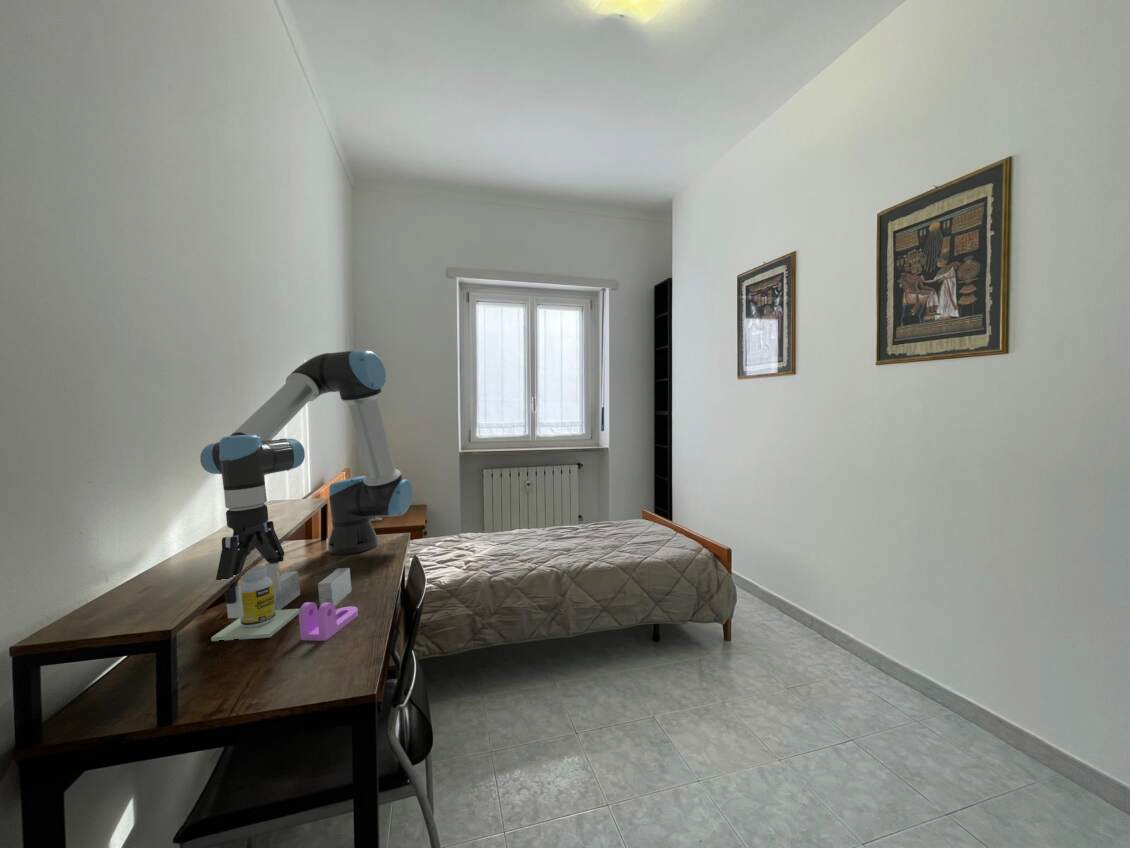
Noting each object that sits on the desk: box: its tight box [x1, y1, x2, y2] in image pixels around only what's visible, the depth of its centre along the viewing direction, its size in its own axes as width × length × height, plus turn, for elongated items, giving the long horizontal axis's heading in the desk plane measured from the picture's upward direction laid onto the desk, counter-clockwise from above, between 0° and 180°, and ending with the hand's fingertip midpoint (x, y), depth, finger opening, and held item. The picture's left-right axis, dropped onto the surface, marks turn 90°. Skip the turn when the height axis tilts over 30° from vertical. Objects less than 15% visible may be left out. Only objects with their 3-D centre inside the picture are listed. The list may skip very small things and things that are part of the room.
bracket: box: [298, 601, 359, 642], centre depth 104 cm, size 13×6×7 cm, turn 170°
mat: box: [210, 608, 300, 642], centre depth 107 cm, size 12×12×1 cm
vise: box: [274, 567, 353, 610], centre depth 118 cm, size 10×21×6 cm, turn 90°
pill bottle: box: [239, 565, 276, 627], centre depth 106 cm, size 6×6×12 cm
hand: (256, 603), depth 106 cm, fingers open, 13 cm apart
